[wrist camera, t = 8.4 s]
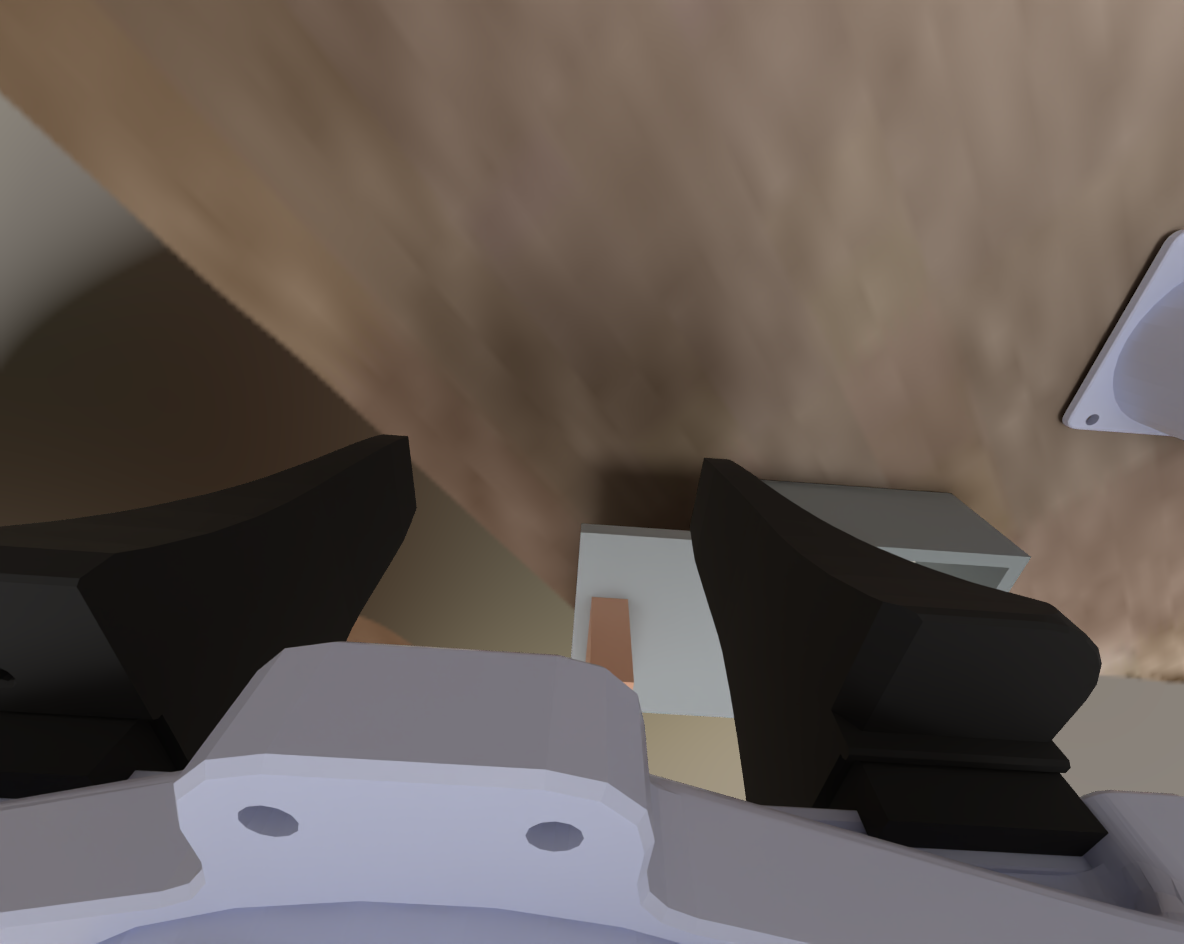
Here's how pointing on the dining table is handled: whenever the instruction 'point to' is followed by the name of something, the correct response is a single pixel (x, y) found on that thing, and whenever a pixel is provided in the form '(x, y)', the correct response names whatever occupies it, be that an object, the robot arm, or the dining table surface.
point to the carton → (915, 528)
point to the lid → (649, 619)
